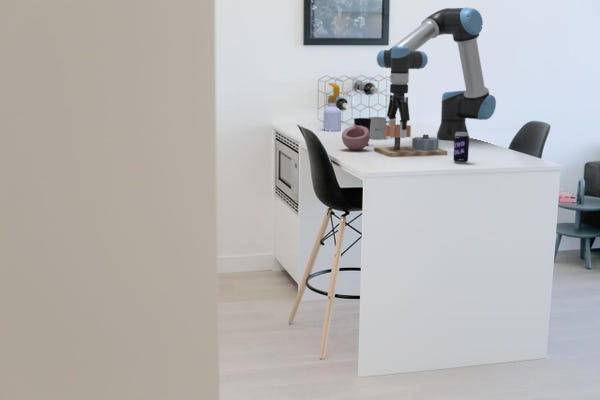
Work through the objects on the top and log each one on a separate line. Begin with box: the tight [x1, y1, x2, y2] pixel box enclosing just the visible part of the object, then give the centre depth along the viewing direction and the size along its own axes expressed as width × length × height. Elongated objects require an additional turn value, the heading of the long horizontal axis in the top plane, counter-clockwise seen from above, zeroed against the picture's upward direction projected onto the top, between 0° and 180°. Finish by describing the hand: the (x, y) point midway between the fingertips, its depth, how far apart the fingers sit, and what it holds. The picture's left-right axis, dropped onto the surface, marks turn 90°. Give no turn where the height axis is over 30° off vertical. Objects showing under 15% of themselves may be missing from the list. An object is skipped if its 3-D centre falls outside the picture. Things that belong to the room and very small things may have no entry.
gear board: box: [373, 134, 448, 158], centre depth 362 cm, size 26×18×8 cm
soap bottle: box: [323, 82, 342, 132], centre depth 443 cm, size 9×9×25 cm
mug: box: [368, 116, 389, 141], centre depth 412 cm, size 12×9×10 cm
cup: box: [353, 117, 371, 147], centre depth 386 cm, size 8×8×12 cm
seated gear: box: [411, 136, 440, 151], centre depth 364 cm, size 11×11×4 cm
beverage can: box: [452, 132, 470, 164], centre depth 335 cm, size 6×6×12 cm
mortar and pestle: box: [341, 123, 371, 151], centre depth 368 cm, size 12×12×11 cm
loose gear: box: [385, 124, 412, 139], centre depth 359 cm, size 11×11×4 cm
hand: (397, 135), depth 359 cm, fingers closed on loose gear, 11 cm apart
